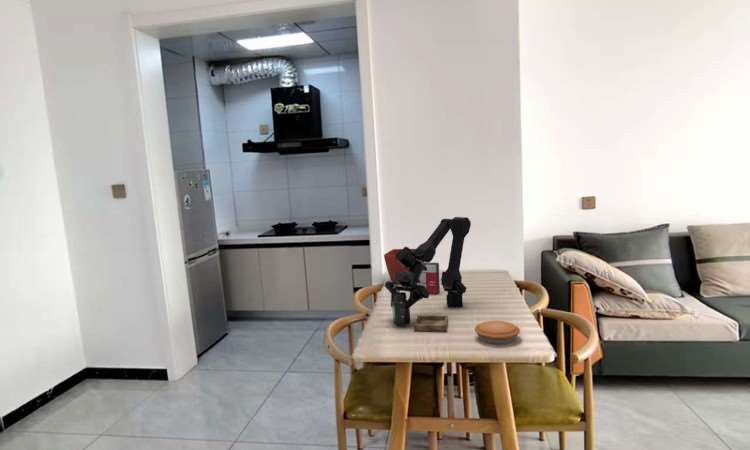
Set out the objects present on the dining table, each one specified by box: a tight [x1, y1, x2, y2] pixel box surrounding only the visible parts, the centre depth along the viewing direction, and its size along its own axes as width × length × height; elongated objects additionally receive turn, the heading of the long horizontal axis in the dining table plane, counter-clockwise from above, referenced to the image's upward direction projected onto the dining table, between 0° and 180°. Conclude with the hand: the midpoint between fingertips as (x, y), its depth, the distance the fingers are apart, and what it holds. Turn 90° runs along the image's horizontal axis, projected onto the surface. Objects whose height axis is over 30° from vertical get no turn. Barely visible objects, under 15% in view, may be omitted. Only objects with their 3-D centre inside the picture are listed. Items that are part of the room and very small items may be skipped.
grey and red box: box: [417, 262, 441, 295], centre depth 229 cm, size 11×4×15 cm, turn 68°
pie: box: [474, 320, 521, 346], centre depth 164 cm, size 15×16×5 cm
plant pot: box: [383, 248, 422, 285], centre depth 255 cm, size 19×19×17 cm
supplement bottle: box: [391, 291, 411, 327], centre depth 184 cm, size 7×7×12 cm
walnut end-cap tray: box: [413, 314, 449, 333], centre depth 181 cm, size 12×12×2 cm
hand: (398, 308), depth 183 cm, fingers closed on supplement bottle, 7 cm apart
